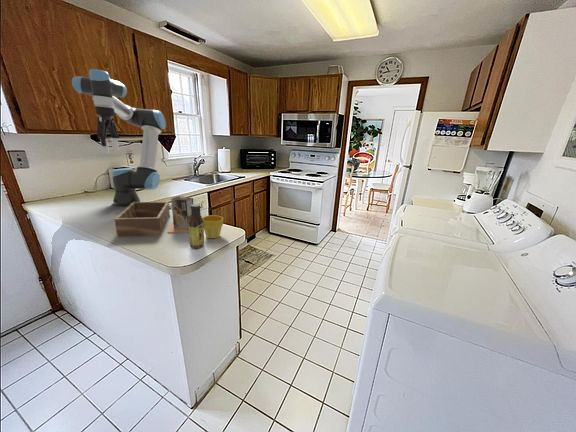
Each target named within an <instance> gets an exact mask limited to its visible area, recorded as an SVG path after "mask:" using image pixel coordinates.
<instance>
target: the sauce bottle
mask: <svg viewBox="0 0 576 432" xmlns="http://www.w3.org/2000/svg"><path fill="white" fill-rule="evenodd" d="M201 209H202V207H201V204H198V203H197V204H196V203H195V204H194V203H193V205H191V217H190V219H189V232H188V233H189V235H188V236H189V246H190V248H191V249H192V250H193V249H194V250H198V249H201V248H203V247H205V230H204V222H203V219H202V218H203V217H202V214H201Z"/></svg>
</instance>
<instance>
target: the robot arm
mask: <svg viewBox="0 0 576 432" xmlns="http://www.w3.org/2000/svg"><path fill="white" fill-rule="evenodd" d="M88 72H89V73H88V74H89V77H86V76H73V78H71V86H72V88H73V89H74V90H75V91H76V92H77V93H80V94H83V95H85V94H86V95H88V96H89V97H91V99H92V101H93V104H94V105H95V106H94V110H95V111H94V112H95V115H98V116H97V117H96V118H97V119H96V121H97V129H96V130H97V134H96V138H97V139H98V140H100V147H101V154H110V149H109V142H108V139H107V135H108V132H109V135H110V136H111V138H110V141H111V148H112V151H113V152H120V147H119V141H118V139H120V135H119V133H118V129H117V125H116V123H115V118H114V117H115V115H116V114H117V116H118V117H119V118H120V119H121V120H122V121H124V122H126V123H128V124H130V125H133V126H135V127H138V128H141V130H142V131H143V135H142V143H141V151H140V161H139V165H138V166H137V167H136V170H134V168H133V167H125V168H117V169H113V170H112V172H111V173H112V174H111V175H112V176H111V178H112V183H113V188H114V196H113V200H112V205H114V206H116V207H117V206H118V207H128V206H129V205H130V204H131V203H133V202H141V199H140V196H139V195H138V193H137V191H136V190H146V191H149V190H152V191H153V190H155V189H157V188H158V187H159V185H160V183H161V178H160V176H161V175H160V173H158V170H157V169H156V168H155V167H156V161H157V160H156V159H157V151H158V142H159V141H158V140H159V135H160V134H162V130H165V129H166V127H167V125H166V124H167V123H166V119H165V116H164V114H163V112H162V111H160V110H156V109H147V108H137V107H131V106H130V105H128V104H125V103H124V102H123V101H122V100H119V99H118V98H125V97H126V96H127V94H128V89H127V87H126V86H125V84H123V83H122V82H121V81H119V80H114V79H112V78H111V77H110V74H109V73H108V71H106V70H105V71H104V70H101V69H96V68H95V69H94V68H91V69H89V71H88Z"/></svg>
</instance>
